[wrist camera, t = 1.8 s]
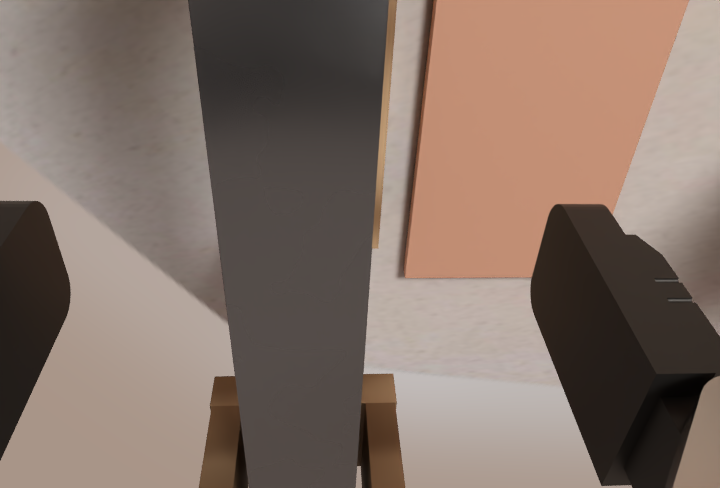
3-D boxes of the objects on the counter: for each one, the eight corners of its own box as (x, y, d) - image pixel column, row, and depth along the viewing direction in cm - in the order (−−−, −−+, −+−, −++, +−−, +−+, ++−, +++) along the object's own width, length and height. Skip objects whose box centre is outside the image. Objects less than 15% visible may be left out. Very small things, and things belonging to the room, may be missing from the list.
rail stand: (175, -479, 15) (-365, -1382, 3) (424, -460, 15) (793, -1192, 3) (241, 227, 28) (187, 575, 16) (375, 227, 28) (418, 566, 16)
